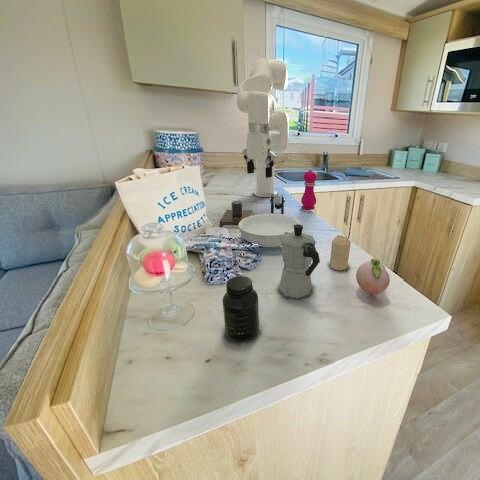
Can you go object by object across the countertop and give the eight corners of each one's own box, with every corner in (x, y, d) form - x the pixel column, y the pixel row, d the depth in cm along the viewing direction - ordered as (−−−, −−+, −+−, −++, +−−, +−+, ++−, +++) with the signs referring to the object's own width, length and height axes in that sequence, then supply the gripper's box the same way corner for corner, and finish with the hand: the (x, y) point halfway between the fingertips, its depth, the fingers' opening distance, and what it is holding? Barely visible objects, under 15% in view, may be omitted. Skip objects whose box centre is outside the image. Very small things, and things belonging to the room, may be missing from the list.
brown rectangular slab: (227, 215, 118) (226, 209, 116) (253, 216, 119) (253, 210, 118) (220, 227, 105) (219, 221, 104) (249, 228, 106) (249, 222, 105)
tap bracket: (267, 218, 118) (267, 191, 113) (288, 218, 119) (289, 192, 114) (265, 228, 107) (264, 199, 102) (288, 229, 108) (289, 200, 103)
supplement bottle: (229, 318, 60) (225, 272, 55) (260, 318, 61) (260, 272, 56) (221, 342, 54) (216, 292, 49) (257, 342, 55) (255, 292, 50)
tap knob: (233, 213, 112) (232, 200, 110) (243, 214, 113) (242, 200, 111) (231, 217, 109) (230, 203, 106) (241, 217, 109) (241, 203, 107)
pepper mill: (313, 213, 128) (316, 170, 120) (298, 211, 129) (300, 168, 121) (317, 208, 135) (320, 167, 126) (302, 206, 136) (304, 165, 127)
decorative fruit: (351, 282, 77) (355, 251, 73) (379, 283, 78) (385, 252, 74) (357, 303, 69) (362, 269, 64) (389, 304, 69) (396, 270, 65)
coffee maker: (269, 281, 74) (269, 219, 67) (296, 273, 79) (299, 214, 72) (298, 312, 64) (302, 243, 56) (328, 300, 69) (335, 235, 61)
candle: (349, 264, 87) (353, 235, 82) (344, 272, 82) (348, 242, 78) (332, 260, 88) (335, 231, 84) (327, 268, 83) (330, 238, 79)
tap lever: (274, 209, 120) (274, 202, 120) (281, 210, 120) (282, 203, 121) (273, 203, 107) (273, 195, 107) (281, 203, 108) (281, 195, 108)
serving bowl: (269, 225, 111) (269, 209, 108) (310, 240, 100) (312, 223, 97) (226, 241, 95) (225, 222, 92) (270, 261, 84) (270, 241, 82)
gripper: (283, 131, 101) (282, 177, 108) (249, 127, 109) (250, 170, 116) (269, 131, 95) (269, 180, 103) (234, 126, 103) (237, 172, 110)
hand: (259, 175), depth 109 cm, fingers open, 9 cm apart
